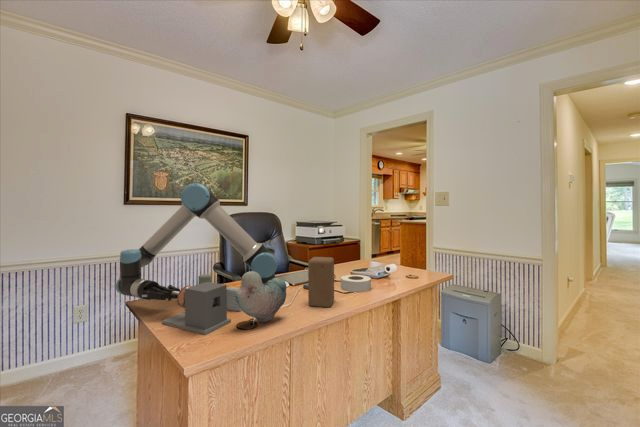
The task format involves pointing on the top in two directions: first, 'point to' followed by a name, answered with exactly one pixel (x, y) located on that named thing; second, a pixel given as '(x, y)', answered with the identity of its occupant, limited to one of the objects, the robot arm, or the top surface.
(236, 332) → the top surface
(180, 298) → the orange rounded long piece
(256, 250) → the robot arm
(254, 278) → the grey rounded bird shape
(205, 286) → the bearing block
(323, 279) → the wooden block
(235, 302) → the medicine box
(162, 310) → the top surface
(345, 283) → the roll of tape
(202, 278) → the air freshener
